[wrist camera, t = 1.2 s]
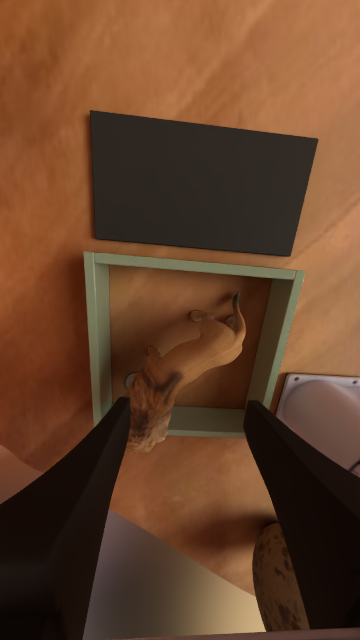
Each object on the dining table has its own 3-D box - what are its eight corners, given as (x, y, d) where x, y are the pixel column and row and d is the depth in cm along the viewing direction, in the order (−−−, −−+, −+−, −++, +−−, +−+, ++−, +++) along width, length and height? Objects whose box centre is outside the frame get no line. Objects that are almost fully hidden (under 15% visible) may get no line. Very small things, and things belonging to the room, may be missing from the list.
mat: (314, 142, 16) (319, 138, 15) (287, 256, 18) (290, 256, 18) (92, 114, 15) (89, 109, 14) (97, 239, 18) (95, 238, 17)
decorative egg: (253, 500, 29) (333, 741, 14) (318, 509, 30) (454, 741, 15) (231, 544, 32) (279, 779, 17) (291, 550, 33) (383, 777, 18)
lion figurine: (159, 396, 23) (151, 479, 14) (124, 370, 22) (90, 442, 13) (253, 307, 20) (314, 343, 11) (218, 271, 19) (256, 281, 10)
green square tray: (282, 269, 19) (306, 270, 15) (249, 414, 24) (261, 439, 21) (99, 253, 18) (82, 251, 15) (105, 407, 23) (93, 432, 20)
